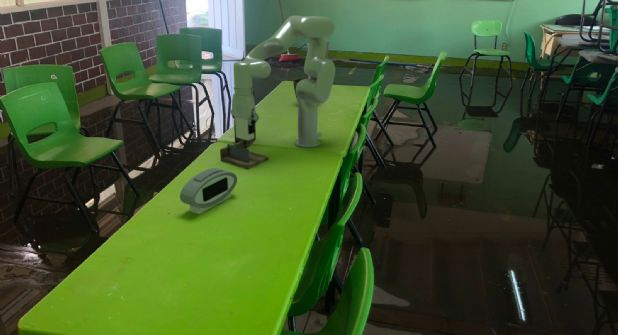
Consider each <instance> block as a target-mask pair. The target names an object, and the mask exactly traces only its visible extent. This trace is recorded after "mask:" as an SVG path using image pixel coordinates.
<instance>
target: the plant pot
mask: <svg viewBox="0 0 618 335" xmlns="http://www.w3.org/2000/svg"><path fill="white" fill-rule="evenodd" d="M303 79H304V78H297V79H294V80H293V81H292V82H293V89H294V94H295V98H296V99H297V96H296V86H297V84H298V82H299V81H301V80H303ZM308 79H309V80H314V81H317V79H312V78H308ZM296 101H297V100H296ZM297 103H298V101H297Z"/></svg>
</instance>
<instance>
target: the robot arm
mask: <svg viewBox="0 0 618 335" xmlns="http://www.w3.org/2000/svg"><path fill="white" fill-rule="evenodd" d="M334 22H335V21H333V20H332V18H330V17H326V16H317V15H305V16H304V15H290V16H289V17H288V18H287V19H285V21H284V22H283V23H282V25H281V26H280V27H279V28H278V29H277V30H276V31H275V33H273V34H272V36H271V37H270V38H268V39H266V40H264V41H262V42H261V43H260V44H257V45H256V46H255V47H253V49H251V50H250V52H249V53H248V54H247V55H246V56H245V57H244V59H243V60H239V61H235V62H234V63H233V82H234V83H233V86H234V87H233V91H234V93H233V95H232V100H231V109H230V110H229V113H230V116H231V117H232V119H233V123H234V122H235V117H237V118H241V119H245V120H248V123H249V125H248V133H249V134H252V133H254V124H255V125H256V123H257V122H258V121H259V119H260V116H259V115H258V114H257V112H256V103H255V102H256V101H254V96H255V95H254V96H253V90H254V89H253V79H266V78H267V77H269V76H270V74H271V72H272V68H271V66H272V65H270V63H269V62H268V61H265V60H266V59H268V58H270V57H273V56H276V55H281V54H283V53H285V52H287V50H288V49H289V48H290V47H291V46H292V45H293V43H294V42H295V41H296V40H297V39H298V38H299V37H302V38H307V41H308V46H307V47H308V49H307V52H306V57H305V61H304V66H303V71H304V72H303V73H304V74H305V75H307V76H308V77H311V78H314V79H313V80H309V79H310V78H302V79H303V80H301V81H299V82H298V84H297V86H296V95H295V97H296V96H297V98H296V101H298V102H297V139H295V140H294V145H295V146H297V147H299V148H303V149H304V148H305V149H309V148H311V149H312V148H316V147H317V148H318V147H319V146H320V145H321V141H320V140H319V138H320V137H322V135H323V133H322V132H318V123H319V122H318V120H319V119H318V118H319V117H318V116H319V115H318V114H319V108H318V104H319V105H320V104H322V105H323V104H324V103H326V102H327V101H328V99H329V98H330V95H331V92H332V89H333V85H334V80H335V76H336V66H335V63H334V61H332V59H330V58H326V56H327V49H328V43H327V40H326V38H329V37H331V36H332V35H333V33H334V31H335V23H334ZM315 79H316V81H314V80H315ZM251 116H252V117H251ZM250 119H252V122H251V120H250ZM235 130H236V126H235Z"/></svg>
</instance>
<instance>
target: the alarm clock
mask: <svg viewBox="0 0 618 335" xmlns="http://www.w3.org/2000/svg"><path fill="white" fill-rule="evenodd" d="M237 183H238V176H237V174H236V173H234V172H232V171H228V170H227V169H226V170H224V169H223V168H222V169H221V168H217V167H212V168H211V167H210V168H207V169H205V170H203V171H201V172H200V173H198V174H196V175H194V176H193V177H192V178H190V179H189V180H188V181H187V182H186V183H185V184H184V186H183V187H182V189H181V191H180V193H179V198H180V202H182V203H183V204H186V205H189V211H190V212H192V213H194V214H198V215H201V214H202V213H205V212H206V211H208V210H210V209H211V208H214V207H215V206H217V205H219V204H220V203H222V202H224V201H226V200H228V199H230V198H231V197H232V195H231V193H232V192H233V191H234V189H235V188H236V185H237Z"/></svg>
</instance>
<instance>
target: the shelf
mask: <svg viewBox="0 0 618 335" xmlns="http://www.w3.org/2000/svg"><path fill="white" fill-rule="evenodd" d="M219 151H220V152H219V153H220V162H223V163H227V164H230V165H232V166H236V167H239V168H243V169H246V170H249V169H251V168H253V167H256V166H258V165H261V164H262V163H265V162H267V161H269V159H270V158H269V156H267V155H265V154H260V153H258V152H254V151H250V149H248V148H247V149H246V148H244V141H241V142H238V143H235V142H234V143H233V144H231V143H227V144H226V146H225V147H223V148H220V150H219Z"/></svg>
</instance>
